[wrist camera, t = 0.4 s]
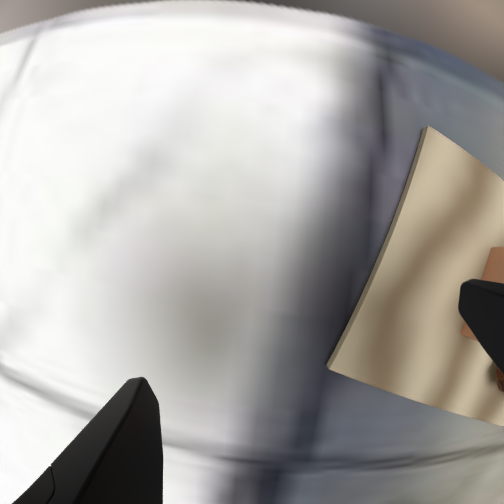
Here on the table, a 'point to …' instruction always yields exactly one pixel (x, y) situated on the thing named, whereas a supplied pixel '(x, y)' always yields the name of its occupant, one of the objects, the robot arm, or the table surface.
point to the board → (430, 288)
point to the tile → (489, 278)
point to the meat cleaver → (500, 380)
